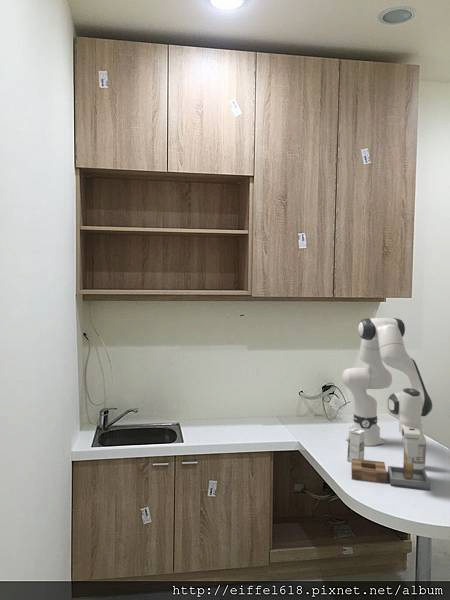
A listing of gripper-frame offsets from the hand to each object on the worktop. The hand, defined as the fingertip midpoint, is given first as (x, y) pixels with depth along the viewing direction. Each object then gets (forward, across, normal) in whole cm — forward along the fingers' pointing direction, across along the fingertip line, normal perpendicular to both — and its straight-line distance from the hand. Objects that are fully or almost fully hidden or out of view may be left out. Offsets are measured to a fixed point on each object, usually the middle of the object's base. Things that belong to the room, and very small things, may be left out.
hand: (408, 460), depth 210 cm
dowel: (+7, 0, 0) cm, 7 cm away
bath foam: (+9, -19, +6) cm, 22 cm away
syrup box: (+9, -18, -21) cm, 29 cm away
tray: (+9, 0, 0) cm, 9 cm away
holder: (+9, -2, -16) cm, 18 cm away
